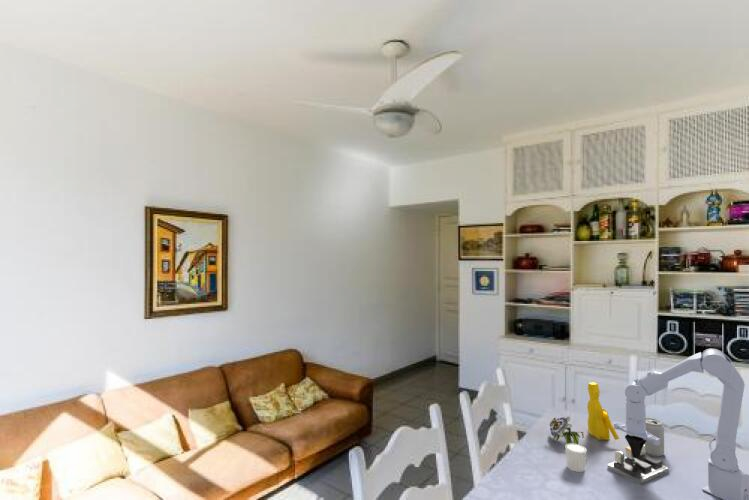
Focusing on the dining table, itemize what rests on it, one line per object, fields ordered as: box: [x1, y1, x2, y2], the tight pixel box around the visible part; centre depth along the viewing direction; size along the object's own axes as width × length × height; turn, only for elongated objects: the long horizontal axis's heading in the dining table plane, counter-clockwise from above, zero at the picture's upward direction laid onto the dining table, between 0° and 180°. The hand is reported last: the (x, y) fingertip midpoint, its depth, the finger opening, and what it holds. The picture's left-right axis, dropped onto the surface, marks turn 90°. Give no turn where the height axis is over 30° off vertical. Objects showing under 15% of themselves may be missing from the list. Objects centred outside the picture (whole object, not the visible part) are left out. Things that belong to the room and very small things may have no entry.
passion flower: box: [549, 416, 585, 444], centre depth 160 cm, size 11×11×12 cm
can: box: [644, 417, 665, 457], centre depth 151 cm, size 8×8×12 cm
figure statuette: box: [586, 382, 620, 441], centre depth 163 cm, size 18×8×22 cm, turn 6°
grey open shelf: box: [607, 445, 670, 486], centre depth 139 cm, size 11×16×6 cm
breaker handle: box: [624, 445, 634, 459], centre depth 141 cm, size 2×2×3 cm
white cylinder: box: [564, 442, 588, 473], centre depth 141 cm, size 7×7×7 cm
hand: (636, 457), depth 139 cm, fingers closed
